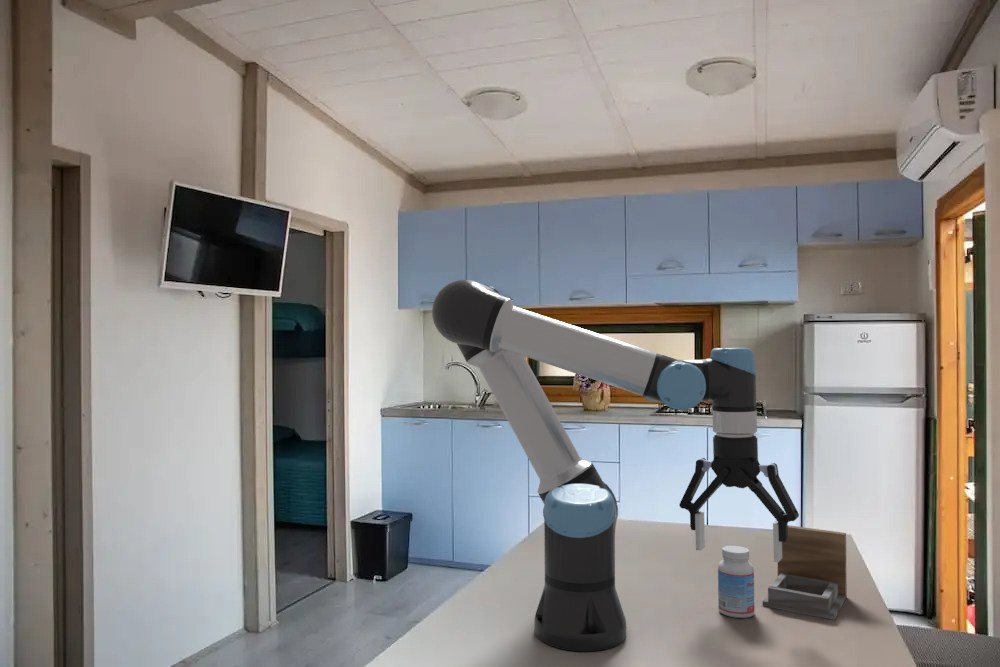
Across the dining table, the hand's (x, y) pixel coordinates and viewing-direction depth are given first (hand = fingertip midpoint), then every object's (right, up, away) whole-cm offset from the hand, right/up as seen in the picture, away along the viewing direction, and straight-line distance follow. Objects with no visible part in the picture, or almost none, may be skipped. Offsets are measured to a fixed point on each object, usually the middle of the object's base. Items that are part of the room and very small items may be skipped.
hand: (738, 554), depth 126 cm
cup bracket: (+14, -10, +5) cm, 18 cm away
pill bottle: (0, -11, 0) cm, 11 cm away
